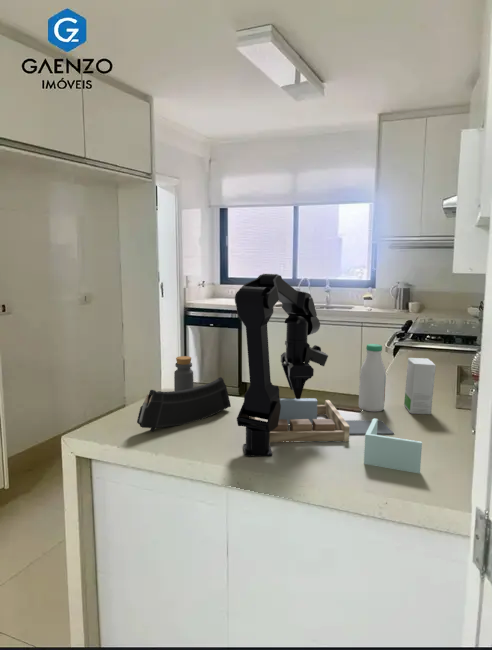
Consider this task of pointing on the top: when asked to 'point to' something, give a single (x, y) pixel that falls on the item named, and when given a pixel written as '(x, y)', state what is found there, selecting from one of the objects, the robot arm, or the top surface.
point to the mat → (366, 427)
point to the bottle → (183, 374)
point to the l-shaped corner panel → (391, 451)
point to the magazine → (183, 405)
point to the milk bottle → (372, 380)
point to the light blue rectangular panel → (298, 409)
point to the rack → (336, 435)
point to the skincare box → (419, 385)
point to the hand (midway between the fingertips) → (295, 394)
